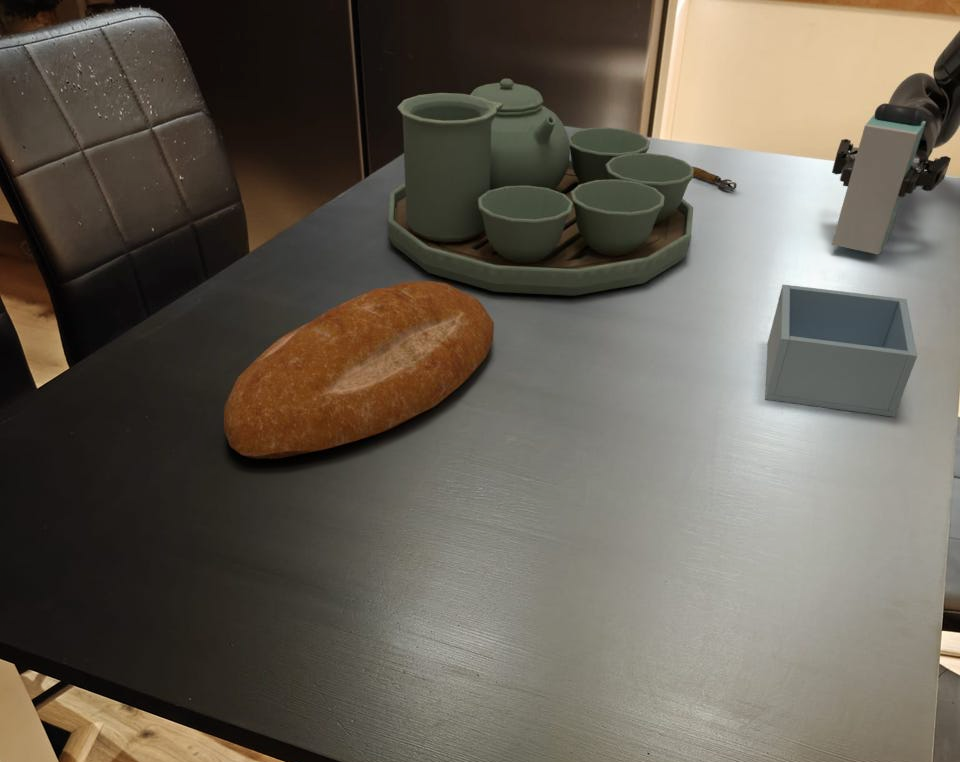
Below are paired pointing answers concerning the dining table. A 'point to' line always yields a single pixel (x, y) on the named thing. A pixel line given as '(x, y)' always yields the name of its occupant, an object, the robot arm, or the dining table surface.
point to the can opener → (713, 178)
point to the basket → (840, 350)
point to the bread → (358, 370)
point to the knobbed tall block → (878, 177)
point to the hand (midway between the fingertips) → (875, 183)
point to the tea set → (533, 197)
